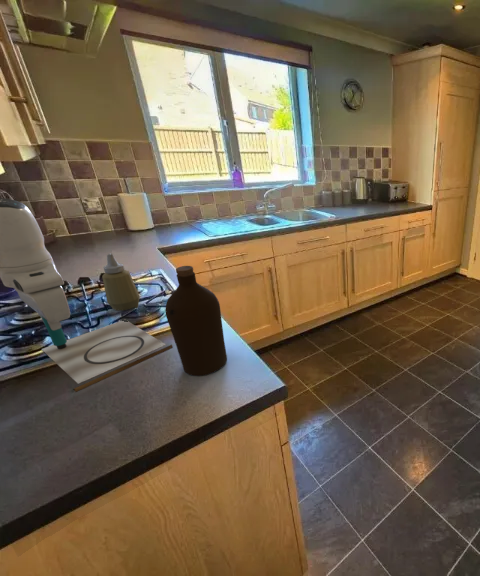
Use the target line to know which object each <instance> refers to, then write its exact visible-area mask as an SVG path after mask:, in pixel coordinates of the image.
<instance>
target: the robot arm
mask: <svg viewBox="0 0 480 576" xmlns="http://www.w3.org/2000/svg"><path fill="white" fill-rule="evenodd" d="M0 281H1V282H2V284H3V286H4V287H7V288H10V289H11V288H12V289H14V290H15V292H17V295H18V296H19V298H20V300H21V301H22V302H23V303H24V304H26V305H27V306H28V307H30V308H31V309H32V310H33V311H35V312H36V313H37V314H38V316H39V317H40V319H41V321H42V323H43V324H44V325H45V323H44V321H43V319H42V317H43V318H45V319H46V320H47V322H48V325H49V328H50V329H52V330H57V329H60V328H62V326H63V325H62V324H61V321H65V320H67V319H70V318H71V309H70V306H69V303H68V299H67V297H66V293H65V291H64V288H63V287H62V286H64V285H65V281H64V278H63V277H62V275H61V274H60V273H59V271H58V269H57V266H56V263H55V262H54V259H53V257H52V254H51V253H50V252H49V251H48V250H47V247H46V246H45V237H44V235H43V232H42V230H41V228H40V226H39V223H38V221H37V220H36V218H35V216H34V214H33V212H32V211H31V210H30V209H29V207H28V206H27V205H25V203H23V202H20V201H17V200H16V199H11V198H4V197H0ZM41 316H42V317H41Z"/></svg>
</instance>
